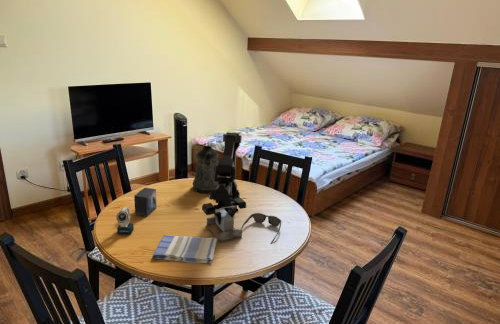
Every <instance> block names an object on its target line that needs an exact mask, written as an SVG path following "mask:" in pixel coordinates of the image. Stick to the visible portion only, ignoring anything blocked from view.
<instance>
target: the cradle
mask: <svg viewBox="0 0 500 324" xmlns="http://www.w3.org/2000/svg"><path fill="white" fill-rule="evenodd" d="M206 227H207V228H208V229H209V230H210V232H211V233H212V234H213V235H214V238H217V242H218V241H219V243H220V244H221V243H225V242H230V241H234V240H239V239H242V237H243V228H242V229H241V228H238V229H237V228H235V227H233V230H231V231H227V232H223V231H222V230H221V228H220V227H219V226H218V225H217V224H216V223H215V215H214V216H209V217H206Z"/></svg>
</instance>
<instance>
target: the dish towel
mask: <svg viewBox="0 0 500 324" xmlns="http://www.w3.org/2000/svg"><path fill="white" fill-rule="evenodd" d="M217 243H218V239H217V238H216V237H201V236H200V237H197V236H186V235H185V236H184V235H183V236H182V235H178V236H176V235H166V234H163V236H162V238H161V239H160V241H159V243H158V245H157V247H156V249H155V250H154V253H153V255H152V257H151V259H154V260H155V259H156V260H163V261H164V260H165V261H171V262H173V261H174V262H176V261H177V262H185V263H194V264H195V263H200V264H212V262H213V261H214V256H215V250H216V246H217Z"/></svg>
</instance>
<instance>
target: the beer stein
mask: <svg viewBox="0 0 500 324" xmlns="http://www.w3.org/2000/svg"><path fill="white" fill-rule="evenodd" d="M195 157H196V159H197V161H196V167H195V174H194V179H193V181H192V187H193V190H194V191H195V192H196V193H198V194H202V195H203V194H204V195H209V192H214V193H215V191H216V188H217V186H218V182H217V181H215V173H216V165H218V162H219V161H218V160H219V159H218V158H219V154H218V152H217V151H216V150H214V149H213V148H212V146H210V145H205V146H203V147H202V149H200V150H199V151H198V152H196V155H195ZM217 177H221V176H218V175H217Z"/></svg>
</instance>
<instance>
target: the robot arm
mask: <svg viewBox="0 0 500 324" xmlns="http://www.w3.org/2000/svg"><path fill="white" fill-rule="evenodd" d="M222 143H224V147H223V151H222V152H223V153H222V157H221V158H219V159H218V161H217V162H218V165H216V173H215V181H217V182H218V186H217V188H216V191H215V193H214V192H209V194H208V197H209V200H212V201H213V202H215V203H216V204H213V203H212V202H208V203H203V204H202V205H201V211H202V212H203V213H204V214H205V215H206V216H211V215H214V216H216V218H217V221H218V224H219V225H220V224H221V213H220V209H224V210H225V211H226V212H227V213H228V214H229V215H230V216H231V217H232V218H233V219H234V216H235V214H237V213H238V212H239V209H240V210H244V209H246V208H247V202H246V201H245V200H244V199H243V198H242V197H241V195H240V191H239V189H238V185H237V181H236V176H237V175H236V173H237V172H236V171H237V168H236V164H237V163H236V161H237V150H238V149H239V148H240V146H241V143H242V135H240V133H239V132H229V131H226V134H225V133H224V134H223V135H222ZM217 175H218V176H220V177H217Z"/></svg>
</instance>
